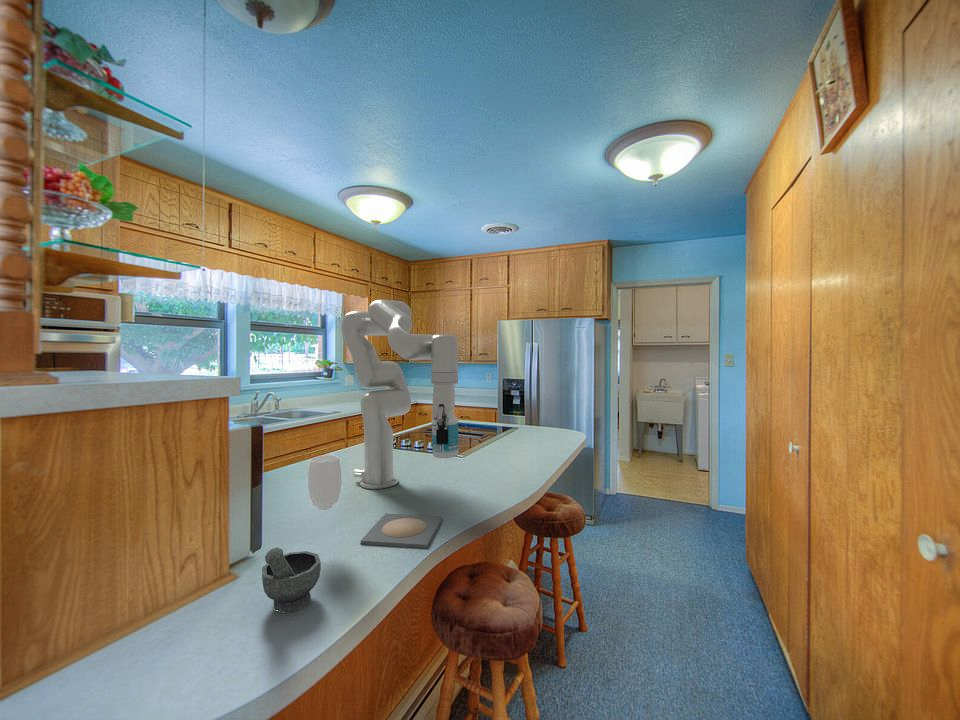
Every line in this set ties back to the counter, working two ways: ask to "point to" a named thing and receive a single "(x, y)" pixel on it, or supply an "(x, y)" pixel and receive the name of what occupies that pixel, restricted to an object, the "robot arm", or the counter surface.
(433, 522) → the rest mat
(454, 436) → the pill bottle
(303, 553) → the mortar and pestle
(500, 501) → the counter surface
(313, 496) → the cup
